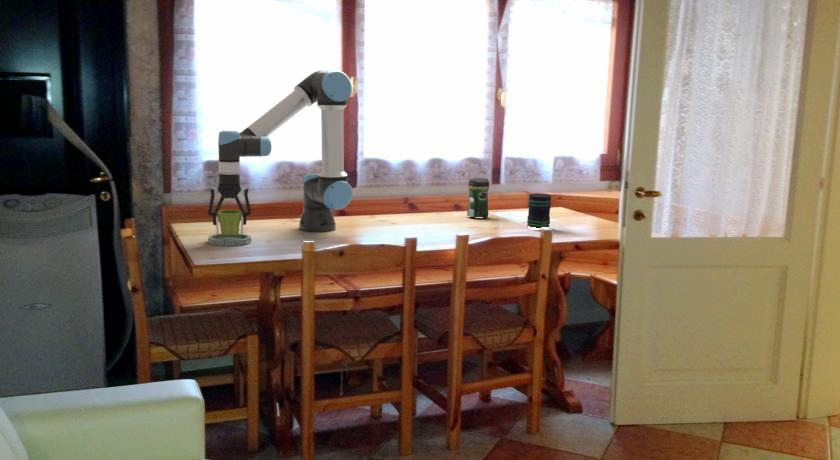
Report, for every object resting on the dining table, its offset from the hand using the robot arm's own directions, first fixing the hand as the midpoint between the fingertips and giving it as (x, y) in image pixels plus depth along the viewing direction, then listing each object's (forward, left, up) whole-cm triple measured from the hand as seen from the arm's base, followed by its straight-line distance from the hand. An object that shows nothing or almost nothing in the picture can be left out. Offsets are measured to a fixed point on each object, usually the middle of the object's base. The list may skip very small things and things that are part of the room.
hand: (229, 233), depth 304 cm
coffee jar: (-73, -102, -4) cm, 125 cm away
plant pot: (0, 0, -1) cm, 1 cm away
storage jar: (-104, -84, -4) cm, 134 cm away
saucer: (0, 0, -3) cm, 3 cm away
